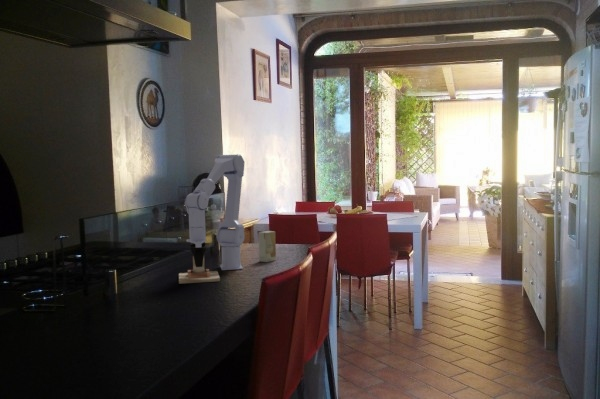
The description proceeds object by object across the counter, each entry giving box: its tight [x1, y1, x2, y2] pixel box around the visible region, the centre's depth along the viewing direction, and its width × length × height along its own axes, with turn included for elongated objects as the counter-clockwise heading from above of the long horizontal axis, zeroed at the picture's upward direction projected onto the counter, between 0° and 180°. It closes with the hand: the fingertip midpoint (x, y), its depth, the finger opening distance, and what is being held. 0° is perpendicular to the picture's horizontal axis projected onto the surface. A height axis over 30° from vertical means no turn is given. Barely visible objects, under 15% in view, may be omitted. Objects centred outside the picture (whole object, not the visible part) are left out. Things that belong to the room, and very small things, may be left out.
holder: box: [178, 268, 221, 284], centre depth 208 cm, size 14×14×2 cm
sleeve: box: [192, 256, 205, 273], centre depth 208 cm, size 4×4×7 cm
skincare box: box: [258, 230, 277, 263], centre depth 241 cm, size 6×4×12 cm
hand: (198, 264), depth 208 cm, fingers open, 7 cm apart
